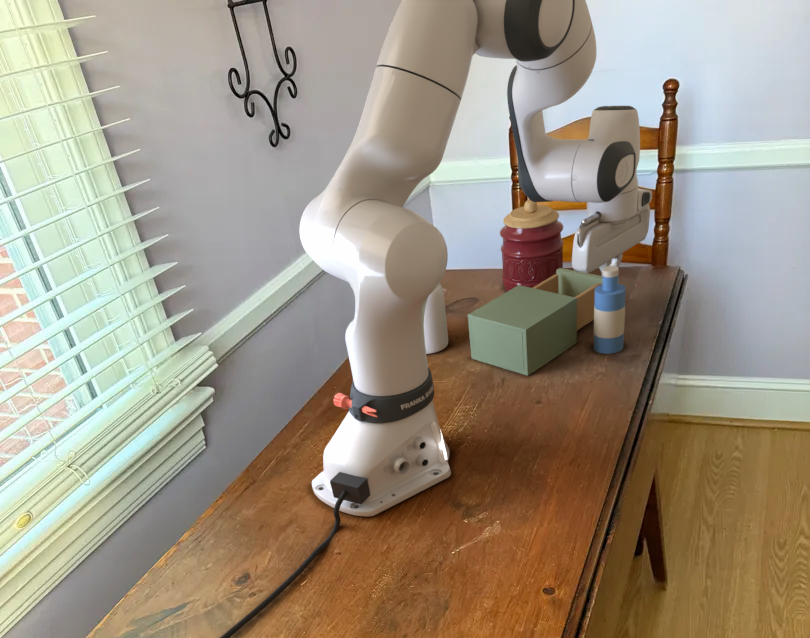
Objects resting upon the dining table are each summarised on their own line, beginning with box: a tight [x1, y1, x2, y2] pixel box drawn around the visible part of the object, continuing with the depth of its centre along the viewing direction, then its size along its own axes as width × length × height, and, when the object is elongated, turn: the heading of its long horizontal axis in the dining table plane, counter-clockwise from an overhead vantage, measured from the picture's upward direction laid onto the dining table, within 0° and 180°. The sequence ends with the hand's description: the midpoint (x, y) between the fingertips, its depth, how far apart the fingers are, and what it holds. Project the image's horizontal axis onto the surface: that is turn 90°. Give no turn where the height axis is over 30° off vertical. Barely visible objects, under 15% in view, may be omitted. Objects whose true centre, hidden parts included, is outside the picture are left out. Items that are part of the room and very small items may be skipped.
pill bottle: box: [424, 283, 449, 355], centre depth 148 cm, size 8×8×15 cm
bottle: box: [593, 266, 627, 355], centre depth 138 cm, size 5×5×14 cm
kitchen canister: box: [499, 199, 564, 292], centre depth 164 cm, size 13×13×18 cm
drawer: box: [533, 267, 603, 331], centre depth 151 cm, size 18×12×7 cm
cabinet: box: [467, 285, 578, 377], centre depth 143 cm, size 15×13×9 cm
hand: (609, 279), depth 150 cm, fingers closed
